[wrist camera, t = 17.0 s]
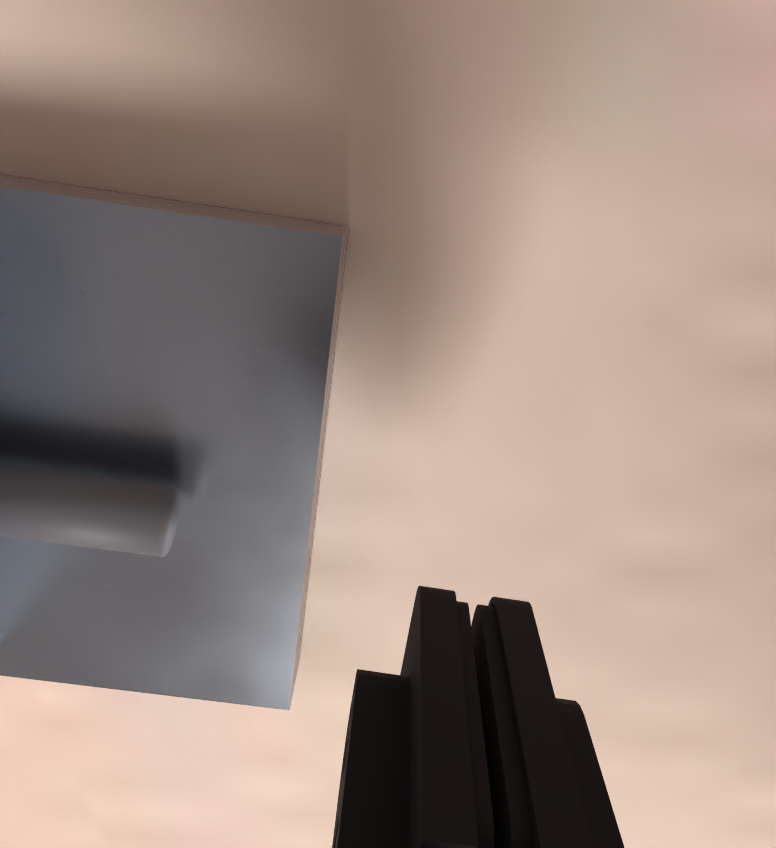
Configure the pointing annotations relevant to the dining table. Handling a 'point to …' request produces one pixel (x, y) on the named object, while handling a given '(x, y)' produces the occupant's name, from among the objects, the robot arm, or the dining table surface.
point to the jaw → (87, 510)
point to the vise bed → (166, 433)
